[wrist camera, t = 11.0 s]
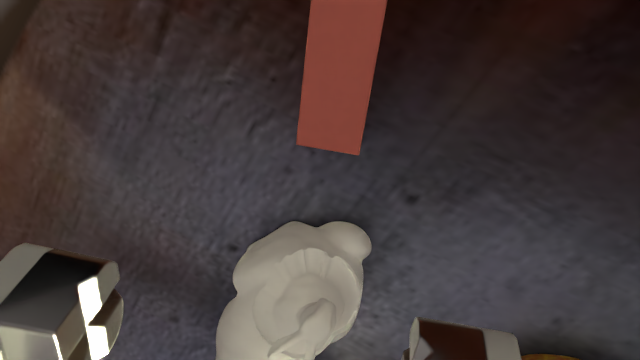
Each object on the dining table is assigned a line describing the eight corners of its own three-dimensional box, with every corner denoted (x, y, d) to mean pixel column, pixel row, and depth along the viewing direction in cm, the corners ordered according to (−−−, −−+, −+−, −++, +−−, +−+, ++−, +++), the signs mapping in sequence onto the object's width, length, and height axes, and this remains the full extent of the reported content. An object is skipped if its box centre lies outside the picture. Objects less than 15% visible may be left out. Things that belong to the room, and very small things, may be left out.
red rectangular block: (327, -80, 19) (318, -70, 17) (398, -69, 19) (397, -58, 17) (305, 117, 24) (295, 145, 21) (363, 127, 23) (358, 156, 21)
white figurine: (264, 348, 32) (216, 515, 24) (162, 279, 30) (74, 437, 22) (406, 245, 27) (406, 421, 19) (292, 152, 25) (236, 304, 17)
